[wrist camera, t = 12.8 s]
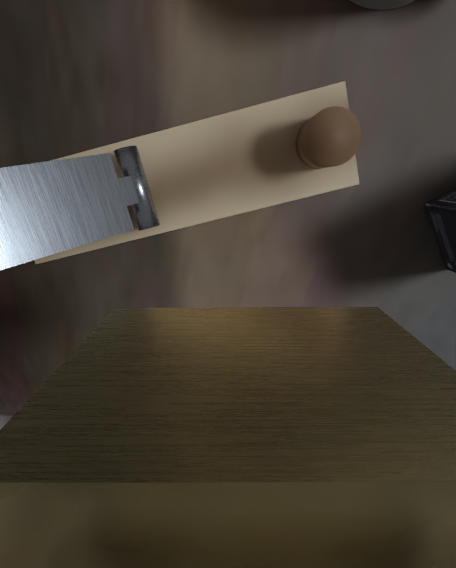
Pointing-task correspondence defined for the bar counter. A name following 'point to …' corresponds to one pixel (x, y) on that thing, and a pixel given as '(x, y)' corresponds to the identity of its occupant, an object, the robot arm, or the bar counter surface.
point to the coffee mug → (382, 3)
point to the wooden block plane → (242, 161)
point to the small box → (444, 225)
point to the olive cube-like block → (235, 446)
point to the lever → (71, 204)
